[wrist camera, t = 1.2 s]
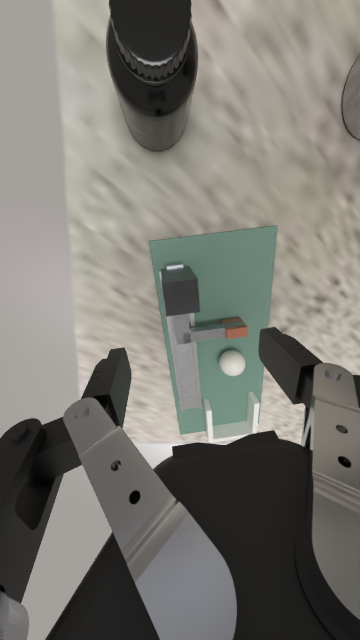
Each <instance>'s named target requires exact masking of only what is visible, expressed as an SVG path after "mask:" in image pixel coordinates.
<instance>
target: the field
mask: <svg viewBox="0 0 360 640" xmlns="http://www.w3.org/2000/svg"><path fill="white" fill-rule="evenodd" d="M276 235H277V226H270V227H262V228H253V229H245V230H237V231H229V232H221V233H213V234H204V235H196V236H188V237H180V238H172V239H164V240H155V241H149V245H150V251H151V257H152V263H153V269H154V275H155V281H156V287H157V294H158V300H159V306H160V312H161V318H162V324H163V330H164V336H165V342H166V348H167V355H168V361H169V367H170V373H171V379H172V385H173V391H174V397H175V403H176V410H177V416H178V422H179V428H180V434H188V433H194V432H201V431H206V425H205V412H204V399H206V398H208V399H209V403H210V406H211V410H212V426H217V425H224V424H230V423H237V422H244V421H247V409H248V392H254V394H255V396H256V398H257V399H258V401H259V403H261V393H262V382H263V372H264V364H263V363H262V362H261V360H260V358H259V353H258V349H259V337H260V330H261V329H264V328H268V319H269V309H270V298H271V288H272V277H273V267H274V256H275V246H276ZM177 262H182V263H183V266H188V265H189V266H190V268H191V269H192V271H193V272H194V274H195V275H196V277H197V278H198V289H199V303H200V312H198V313H194V321H195V327H201V326H208V325H215V324H221V320H222V319H229V318H236V317H240V318H241V319H242V320H243V322H244V323H245V324H246V325H247V326H248V336H246V337H239V338H232V339H227V338H220V339H213V340H206V341H198V342H196V344H197V356H198V368H199V380H200V391H201V403H202V409H200V410H199V408H198V407H197V408H190V409H184V412H181V410H180V405H179V398H178V392H177V385H176V379H175V372H174V366H173V359H172V352H171V346H170V339H169V333H168V326H167V320H166V313H165V306H164V300H163V293H162V287H161V280H160V274H159V270H161V269H164V268H166V264H169V263H177ZM229 350H234V351H237V352H239V353H240V354H242V356H243V357H244V359H245V368H244V370H243V372H242V373H241V374H239V375H237V376H229V375H227V374H225V373H224V372H223V371H222V370H221V368H220V365H219V360H220V357H221V355H222V354H223V353H224V352H226V351H229ZM259 414H260V404H259ZM258 423H259V415H258Z"/></svg>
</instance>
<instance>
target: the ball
mask: <svg viewBox="0 0 360 640" xmlns="http://www.w3.org/2000/svg"><path fill="white" fill-rule="evenodd" d="M219 365H220V368H221V370H222V371H223V372H224V373H225V374H227V375H229V376H237V375H239V374H241V373H242V372H243V370H244V368H245V359H244V357H243V356H242V354H240V353H239V352H237V351H234V350H229V351H226V352H224V353H223V354H222V355H221V357H220V360H219Z"/></svg>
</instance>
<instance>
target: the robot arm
mask: <svg viewBox="0 0 360 640" xmlns="http://www.w3.org/2000/svg"><path fill="white" fill-rule="evenodd" d="M342 105H343V117H344V121H345V124H346V126H347V128H348V130H349V132H350V133H351V134H352V135H353V136H354V137H356V138H358V139H360V55H359V56H358V58H357V60H356V62H355V63H354V65H353V67H352V69H351V71H350V74H349V76H348V79H347V82H346V86H345V90H344V95H343V104H342ZM258 353H259V358H260V360H261V362H262V363H263V364H264V366H265V367H266V368H267V370H268V371H269V372H270V374H271V375H272V376H273V378H274V379H275V380H276V382H277V383H278V384H279V386H280V387H281V388H282V390H283V391H284V392H285V394H286V395H287V396H288V398H289V399H290V400H291V402H292V403H293V404H300V403H303V404H304V405H305V410H304V419H303V430H302V441H301V445H299V444H297V443H294V442H291V441H287V440H282V439H279V438H278V436H277V435H276V433H275V431H274V430H273V431H267V432H260V433H254V434H249V435H247V436H245V437H243V438H240V439H238V440H236V441H234V442H232V443H230V444H227V445H217V444H207V443H192V444H185V445H179V446H173V447H172V450H173V456H171V457H169V458H167V459H166V460H164V461H162V462H161V463H160V464H159V465H157V466H156V467H155V468H154V469H152V468H151V466H150V465H149V464H148V462H147V461H146V460H145V458H144V457H143V456H142V454H141V453H140V452H139V450H138V449H137V448H136V447H135V445H134V444H133V442H132V441H131V440H130V438H129V437H128V436H127V434H126V433H125V432H124V430H123V429H122V428H123V423H124V417H125V412H126V406H127V400H128V395H129V389H130V384H131V369H130V365H129V361H128V357H127V353H126V350H125V348H117V349H111V350H110V352H109V355H108V357H107V359H102V360H101V361H100V362H99V363H98V364H97V365H96V366H95V369H94V371H93V374H92V375H91V378H90V380H89V382H88V384H87V387H86V389H85V391H84V393H83V396H82V398H81V400H78V401H77V402H75V403H73V404H72V405H71V406H70V407H69V408H68V409H67V410H66V411H65V413H64V416H63V417H61V418H59V419H57V420H54V421H51V422H49V423H46V424H44V425H42V424H41V422H40V421H39V420H38V419H34V418H32V419H27V420H24V421H21V422H19V423H18V424H16V425H14V426H13V427H11V428H10V429H9V430H8V431H6V432H5V434H4V435H3V436H2V437H1V438H0V640H27V636H28V629H29V617H28V612H27V610H26V608H25V607H24V606H23V605H22V604H21V602H22V599H23V596H24V593H25V590H26V587H27V584H28V581H29V578H30V575H31V572H32V569H33V565H34V562H35V559H36V556H37V553H38V550H39V547H40V544H41V541H42V538H43V535H44V532H45V529H46V526H47V523H48V520H49V517H50V514H51V511H52V508H53V504H54V502H55V499H56V496H57V492H58V490H59V486H60V483H61V480H62V477H63V474H64V473H66V472H68V471H70V470H72V469H74V468H76V467H78V466H80V465H83V467H84V469H85V471H86V474H87V476H88V478H89V480H90V483H91V485H92V487H93V489H94V491H95V494H96V496H97V498H98V501H99V503H100V505H101V507H102V509H103V512H104V514H105V516H106V518H107V521H108V523H109V525H110V527H111V529H112V533H111V535H110V537H109V538H108V540H107V541H106V543H105V545H104V546H103V548H102V550H101V551H100V553H99V554H98V556H97V558H96V559H95V561H94V562H93V564H92V566H91V567H90V569H89V571H88V572H87V574H86V575H85V577H84V578H83V580H82V582H81V583H80V585H79V586H78V588H77V590H76V591H75V593H74V594H73V596H72V598H71V599H70V601H69V603H68V604H67V606H66V607H65V609H64V610H63V612H62V614H61V615H60V617H59V619H58V620H57V622H56V623H55V625H54V627H53V628H52V630H51V631H50V633H49V635H48V636H47V638H46V639H45V640H360V375H352V374H351V373H350V372H349V371H348V370H346V369H345V368H343V367H341V366H338V365H335V364H331V363H323V362H322V361H321V360H320V359H318V358H317V357H316V356H315V355H314V354H312V353H311V352H310V351H309V350H308V349H306V348H305V347H304V346H303V345H302V344H300V343H299V342H298V341H297V340H296V339H295V338H293V337H291V336H288V335H286V334H282V333H281V332H280V331H279V330H278V329H277V328H275V327H271V328H264V329H261V330H260V337H259V349H258Z"/></svg>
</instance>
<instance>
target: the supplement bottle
mask: <svg viewBox="0 0 360 640" xmlns="http://www.w3.org/2000/svg"><path fill="white" fill-rule="evenodd" d="M109 8H110V13H111V15H110V18H109V22H108V27H107V34H106V53H107V61H108V66H109V70H110V74H111V77H112V81H113V84H114V87H115V90H116V93H117V96H118V99H119V102H120V105H121V108H122V111H123V114H124V117H125V120H126V123H127V125H128V128H129V130H130V132H131V133H132V135H133V136H134V138H135V139H136V140H137V141H138V142H139V143H140V144H141V145H142V146H144V147H146V148H148V149H150V150H155V151H160V150H165V149H167V148H169V147H171V146H172V145H174V144H175V143H176V142H177V140H178V139H179V138H180V136H181V134H182V132H183V129H184V127H185V123H186V119H187V115H188V111H189V107H190V102H191V98H192V94H193V90H194V86H195V81H196V76H197V69H198V46H197V39H196V34H195V30H194V27H193V24H192V21H191V19H192V15H191V0H109Z"/></svg>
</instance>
